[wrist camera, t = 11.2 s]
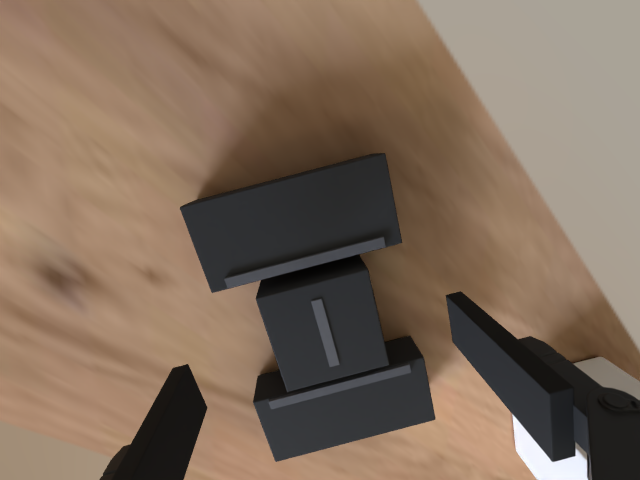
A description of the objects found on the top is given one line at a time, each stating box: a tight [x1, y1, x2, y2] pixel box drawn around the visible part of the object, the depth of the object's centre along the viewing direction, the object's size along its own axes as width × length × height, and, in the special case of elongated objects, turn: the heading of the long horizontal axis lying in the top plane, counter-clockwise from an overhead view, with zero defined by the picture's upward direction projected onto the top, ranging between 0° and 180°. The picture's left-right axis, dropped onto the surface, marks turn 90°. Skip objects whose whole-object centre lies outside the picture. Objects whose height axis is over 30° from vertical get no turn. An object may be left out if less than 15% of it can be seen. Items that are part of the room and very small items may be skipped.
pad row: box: [180, 153, 435, 462], centre depth 20 cm, size 18×11×3 cm, turn 14°
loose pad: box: [256, 254, 389, 392], centre depth 20 cm, size 6×6×3 cm
